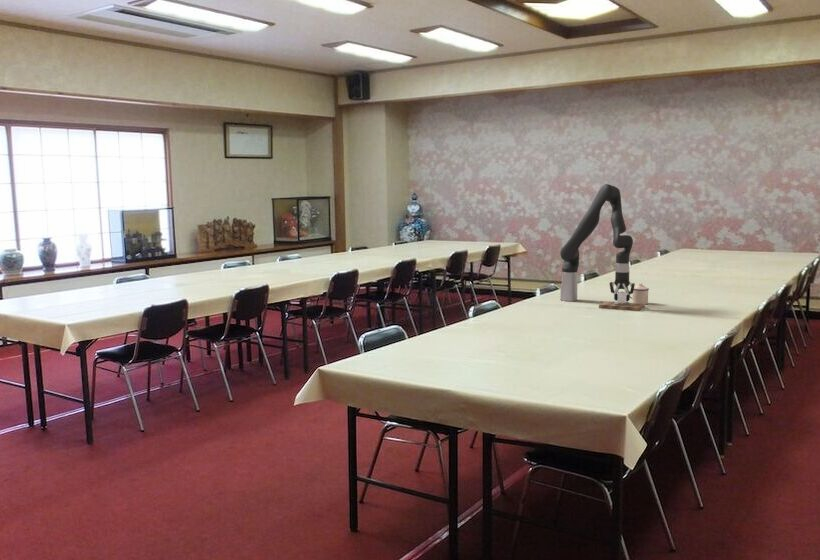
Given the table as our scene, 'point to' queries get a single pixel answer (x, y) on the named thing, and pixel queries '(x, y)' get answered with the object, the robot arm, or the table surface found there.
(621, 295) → the white block
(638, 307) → the walnut base
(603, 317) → the table surface
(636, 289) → the teacup with lid
